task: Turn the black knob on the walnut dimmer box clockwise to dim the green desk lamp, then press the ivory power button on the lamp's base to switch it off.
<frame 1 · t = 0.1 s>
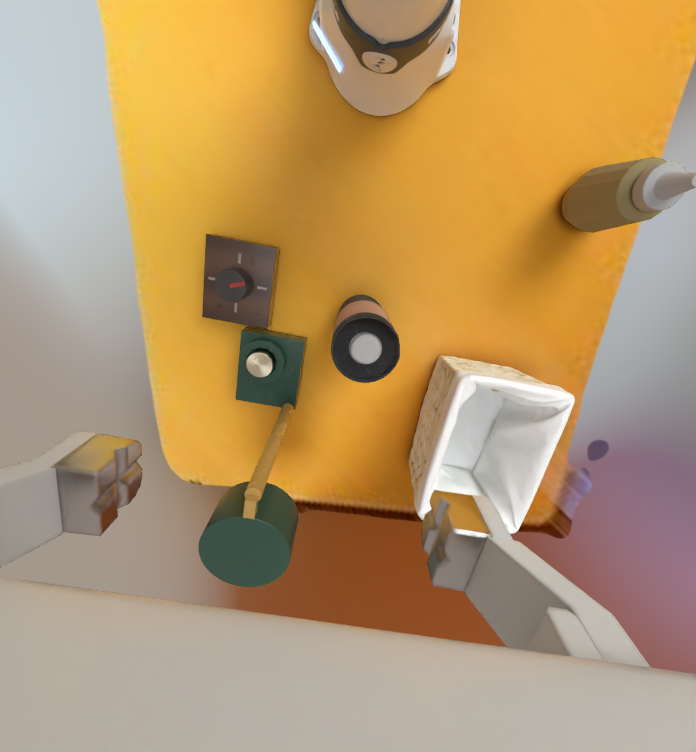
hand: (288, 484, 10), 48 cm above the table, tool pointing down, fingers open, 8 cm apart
squeeze bottle: (580, 203, 50), on the table
dimmer: (243, 281, 54), on the table
desk lamp: (292, 397, 61), resting on lamp base
dimmer knob: (233, 284, 50), point 5 cm above the table, hinge at 110.0°
basket: (460, 415, 62), on the table
travel mug: (360, 316, 56), on the table
lamp base: (272, 366, 59), on the table
power button: (260, 363, 54), point 5 cm above the table, slide at 0.2 cm
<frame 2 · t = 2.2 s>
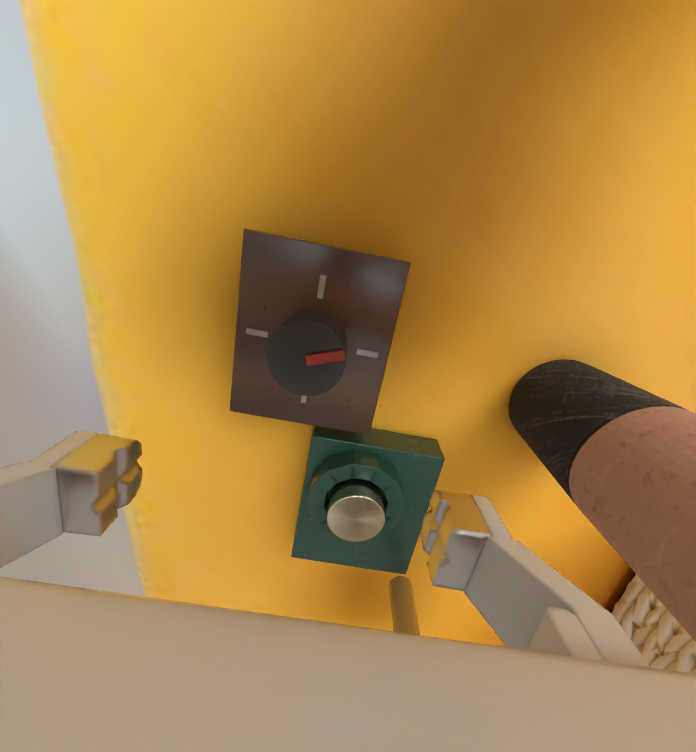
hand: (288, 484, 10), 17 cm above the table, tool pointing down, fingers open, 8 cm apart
dimmer: (317, 331, 25), on the table
desk lamp: (393, 539, 32), resting on lamp base
dimmer knob: (309, 351, 21), point 5 cm above the table, hinge at 110.0°
travel mug: (553, 401, 27), on the table
lamp base: (362, 489, 30), on the table
power button: (355, 510, 25), point 5 cm above the table, slide at 0.2 cm
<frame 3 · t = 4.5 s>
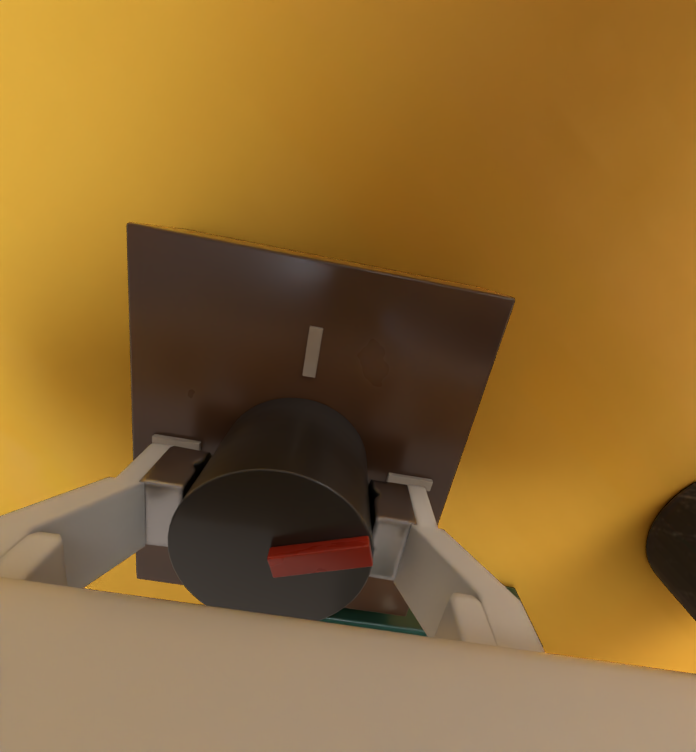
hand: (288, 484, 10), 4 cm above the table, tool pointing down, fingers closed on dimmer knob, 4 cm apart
dimmer: (307, 417, 14), on the table
dimmer knob: (284, 505, 9), point 5 cm above the table, hinge at 109.9°, touching gripper
lamp base: (384, 655, 18), on the table
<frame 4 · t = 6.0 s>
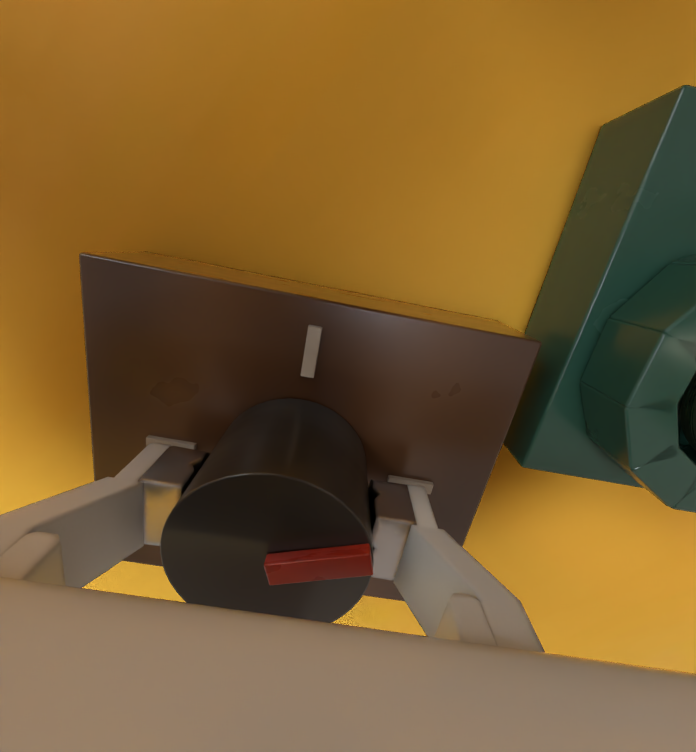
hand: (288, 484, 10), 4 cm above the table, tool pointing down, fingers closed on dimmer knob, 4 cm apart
dimmer: (305, 418, 13), on the table
dimmer knob: (281, 509, 9), point 5 cm above the table, hinge at 18.7°, touching gripper
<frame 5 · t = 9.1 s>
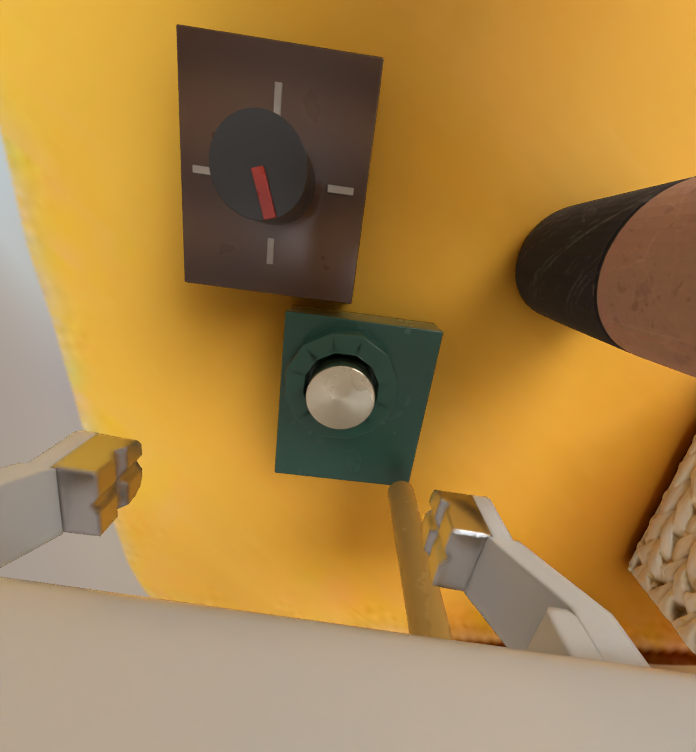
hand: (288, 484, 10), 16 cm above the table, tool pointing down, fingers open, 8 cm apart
dimmer: (284, 189, 22), on the table
desk lamp: (392, 454, 28), resting on lamp base
dimmer knob: (266, 173, 17), point 5 cm above the table, hinge at 18.5°
travel mug: (567, 264, 23), on the table
lamp base: (352, 392, 26), on the table
power button: (340, 392, 21), point 5 cm above the table, slide at 0.2 cm
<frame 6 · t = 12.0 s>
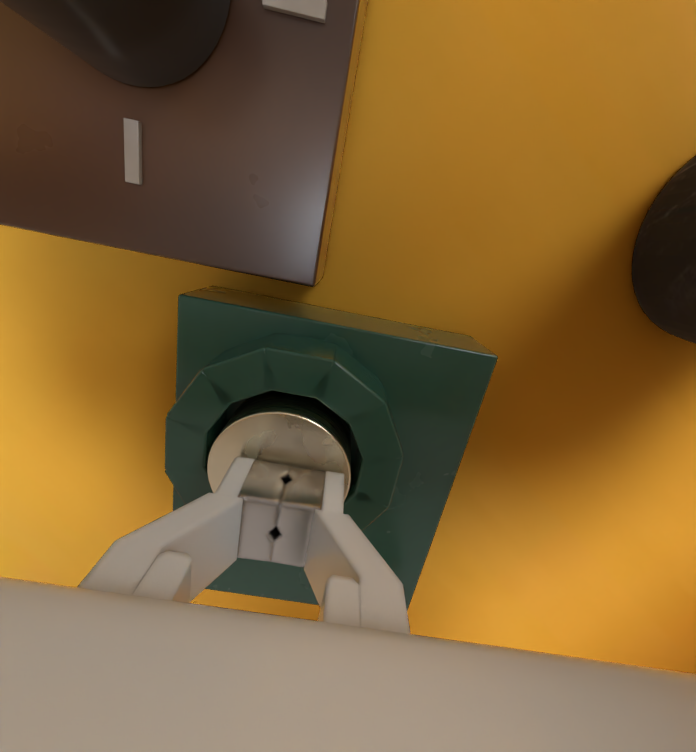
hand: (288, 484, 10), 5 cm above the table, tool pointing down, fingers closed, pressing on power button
dimmer: (191, 42, 10), on the table
lamp base: (318, 446, 15), on the table
power button: (284, 459, 10), point 4 cm above the table, slide at -0.6 cm, touching gripper
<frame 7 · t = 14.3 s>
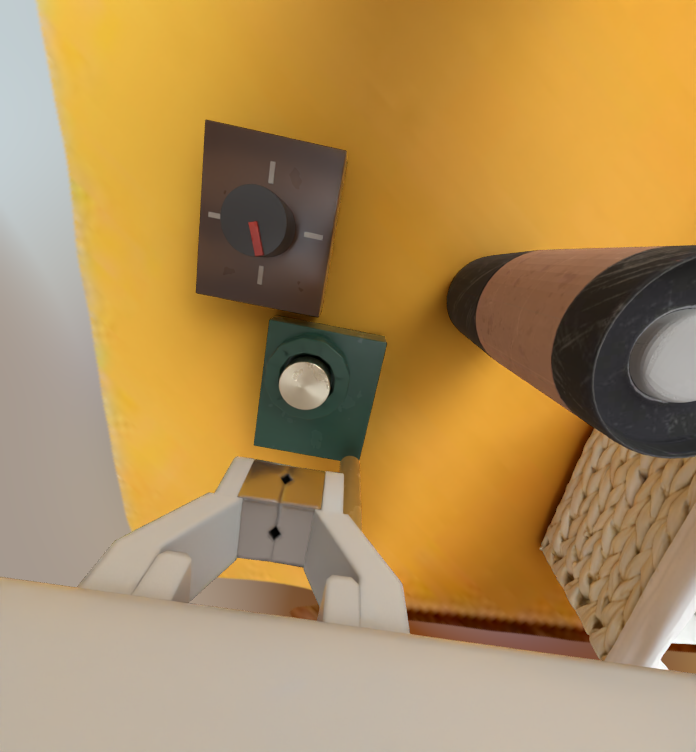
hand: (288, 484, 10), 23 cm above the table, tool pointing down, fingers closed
dimmer: (274, 229, 29), on the table
desk lamp: (350, 439, 35), resting on lamp base
dimmer knob: (259, 223, 24), point 5 cm above the table, hinge at 18.5°
basket: (638, 473, 36), on the table
travel mug: (485, 298, 31), on the table
lamp base: (319, 386, 33), on the table
power button: (305, 382, 28), point 5 cm above the table, slide at 0.1 cm
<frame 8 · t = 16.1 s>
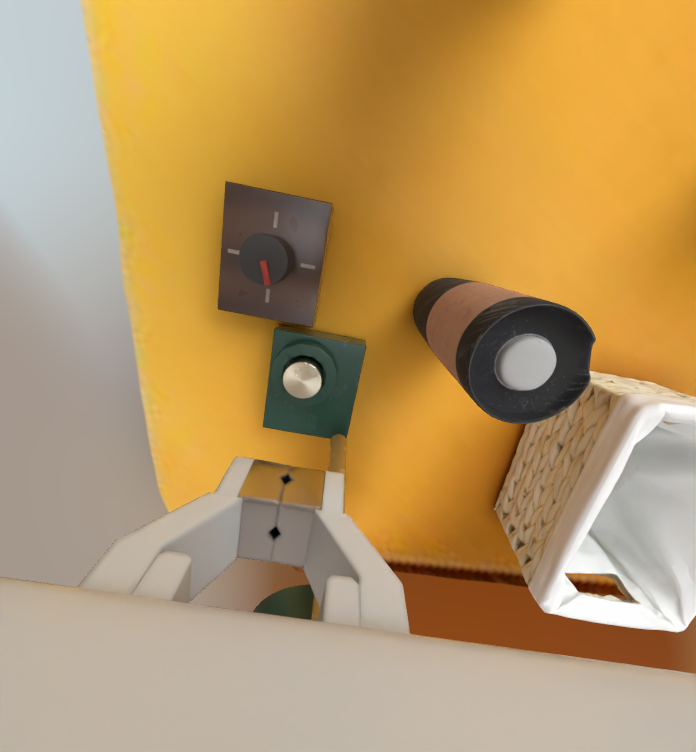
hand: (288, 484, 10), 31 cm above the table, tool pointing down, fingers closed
dimmer: (277, 258, 37), on the table
desk lamp: (339, 422, 44), resting on lamp base
dimmer knob: (267, 259, 33), point 5 cm above the table, hinge at 18.5°
basket: (571, 447, 45), on the table
travel mug: (444, 310, 39), on the table
lamp base: (314, 380, 42), on the table
power button: (303, 377, 36), point 5 cm above the table, slide at 0.1 cm
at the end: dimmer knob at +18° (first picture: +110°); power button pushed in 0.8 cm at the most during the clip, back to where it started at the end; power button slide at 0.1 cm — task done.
